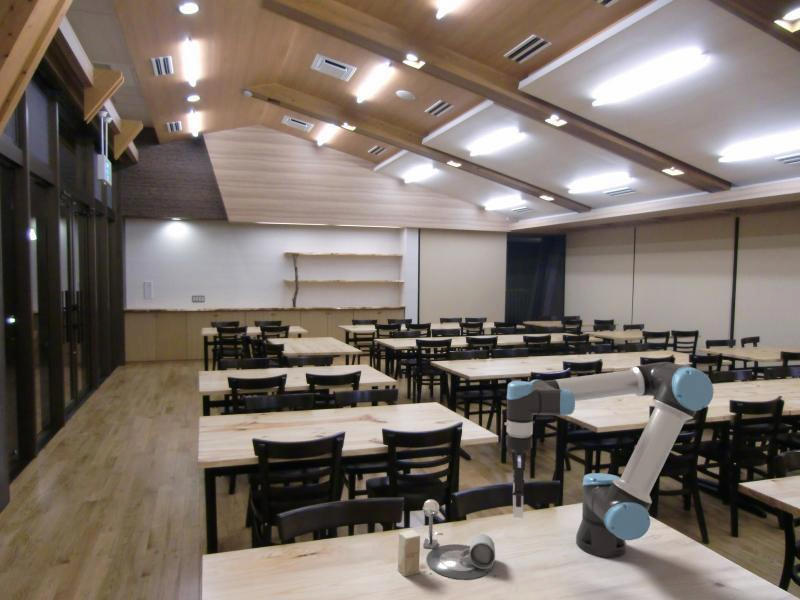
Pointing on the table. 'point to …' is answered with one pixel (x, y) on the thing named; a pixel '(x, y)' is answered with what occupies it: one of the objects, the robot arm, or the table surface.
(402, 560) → the box
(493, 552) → the ceramic mug
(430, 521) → the dial stand
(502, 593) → the table surface
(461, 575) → the platter
